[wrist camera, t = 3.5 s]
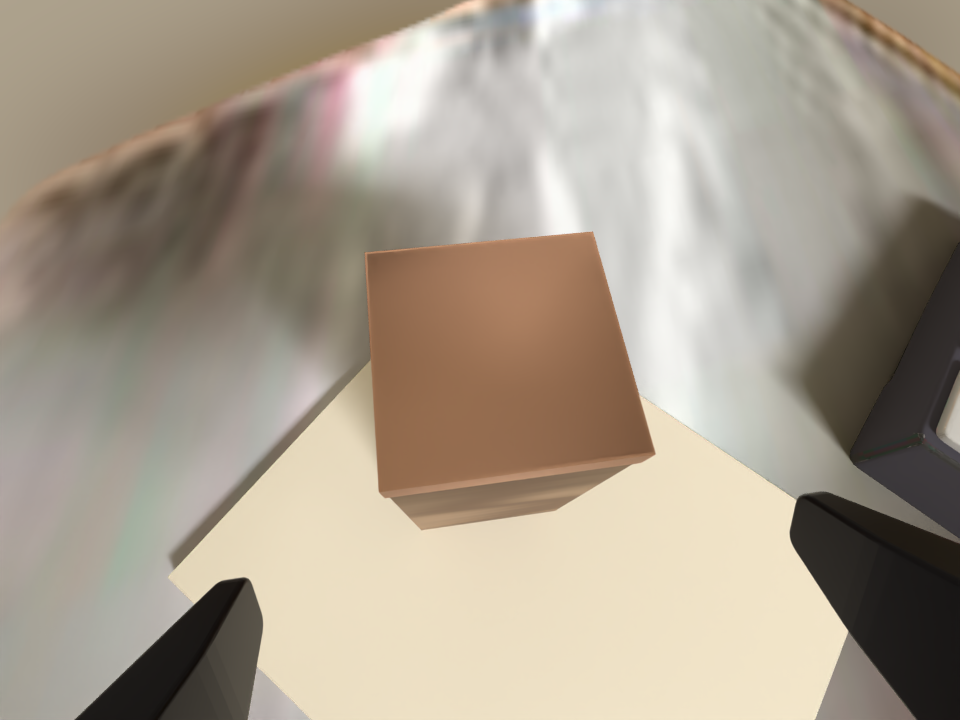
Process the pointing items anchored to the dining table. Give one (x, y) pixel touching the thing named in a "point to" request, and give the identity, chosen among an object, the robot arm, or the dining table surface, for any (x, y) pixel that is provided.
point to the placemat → (526, 591)
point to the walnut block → (498, 378)
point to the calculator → (922, 413)
